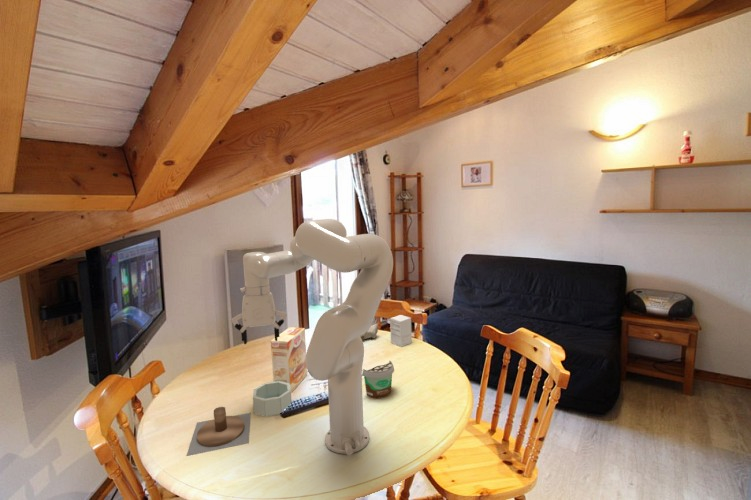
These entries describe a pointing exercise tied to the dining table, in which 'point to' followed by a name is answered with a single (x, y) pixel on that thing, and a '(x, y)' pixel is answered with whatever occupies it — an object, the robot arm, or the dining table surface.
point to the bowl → (271, 398)
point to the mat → (242, 439)
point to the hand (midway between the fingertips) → (261, 341)
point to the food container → (379, 380)
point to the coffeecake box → (289, 357)
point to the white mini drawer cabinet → (400, 330)
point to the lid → (220, 429)
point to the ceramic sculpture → (370, 332)
